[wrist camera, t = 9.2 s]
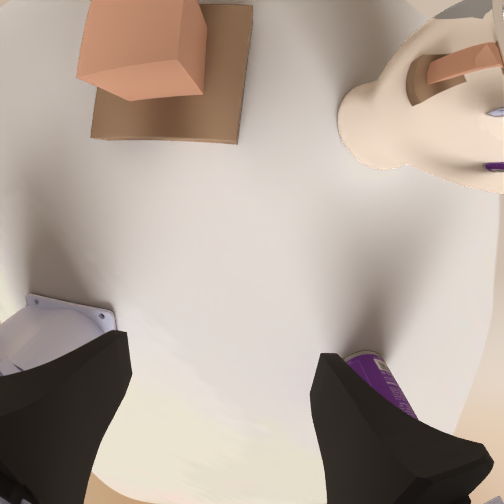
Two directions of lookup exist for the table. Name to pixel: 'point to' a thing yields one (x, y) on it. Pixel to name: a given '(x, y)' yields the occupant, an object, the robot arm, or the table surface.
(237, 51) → the walnut base
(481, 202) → the table surface
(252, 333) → the table surface
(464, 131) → the beer glass
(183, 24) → the terracotta block
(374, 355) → the container
